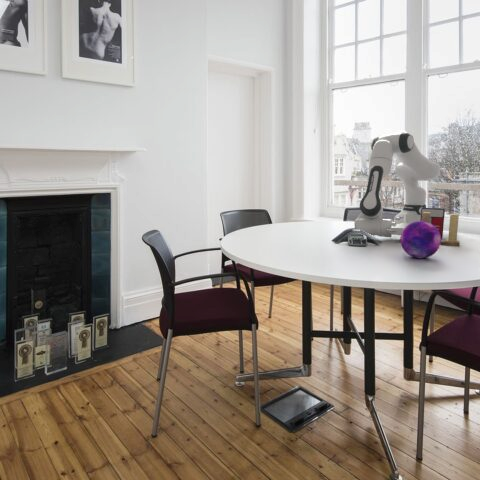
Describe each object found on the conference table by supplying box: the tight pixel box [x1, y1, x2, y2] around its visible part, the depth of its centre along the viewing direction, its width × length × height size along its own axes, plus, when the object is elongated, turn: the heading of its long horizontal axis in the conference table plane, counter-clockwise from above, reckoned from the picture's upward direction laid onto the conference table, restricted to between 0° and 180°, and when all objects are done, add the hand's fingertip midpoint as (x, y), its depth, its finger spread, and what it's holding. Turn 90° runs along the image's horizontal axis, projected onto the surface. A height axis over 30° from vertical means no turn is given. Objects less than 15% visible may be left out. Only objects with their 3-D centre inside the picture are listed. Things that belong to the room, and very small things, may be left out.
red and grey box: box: [420, 207, 446, 238], centre depth 228 cm, size 11×4×15 cm, turn 62°
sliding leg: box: [422, 212, 431, 223], centre depth 211 cm, size 5×5×13 cm
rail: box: [399, 237, 460, 247], centre depth 211 cm, size 26×7×2 cm, turn 65°
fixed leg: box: [446, 213, 460, 243], centre depth 206 cm, size 5×5×13 cm
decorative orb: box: [399, 221, 441, 259], centre depth 176 cm, size 15×15×15 cm
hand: (417, 229), depth 213 cm, fingers closed
